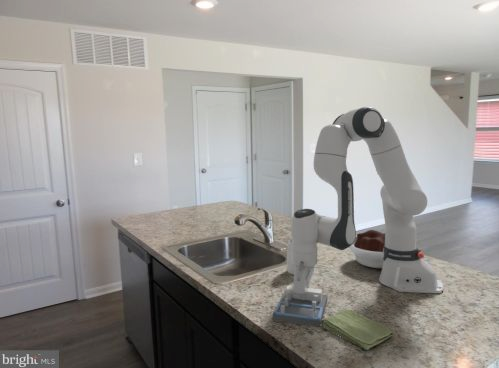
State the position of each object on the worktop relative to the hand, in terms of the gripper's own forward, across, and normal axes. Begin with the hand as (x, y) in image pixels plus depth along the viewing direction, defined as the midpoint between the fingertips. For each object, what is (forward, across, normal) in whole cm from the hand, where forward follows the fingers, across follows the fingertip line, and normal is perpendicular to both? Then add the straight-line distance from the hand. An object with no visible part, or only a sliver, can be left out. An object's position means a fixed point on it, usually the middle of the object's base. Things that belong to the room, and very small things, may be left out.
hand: (304, 295), depth 127 cm
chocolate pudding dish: (+3, +46, -24) cm, 52 cm away
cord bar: (+1, 0, 0) cm, 1 cm away
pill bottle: (+3, +28, +8) cm, 29 cm away
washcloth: (+3, -14, -18) cm, 23 cm away
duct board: (+3, -5, 0) cm, 6 cm away
